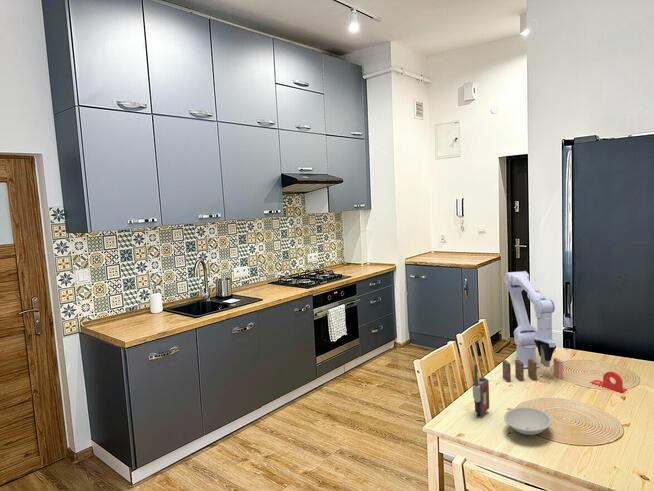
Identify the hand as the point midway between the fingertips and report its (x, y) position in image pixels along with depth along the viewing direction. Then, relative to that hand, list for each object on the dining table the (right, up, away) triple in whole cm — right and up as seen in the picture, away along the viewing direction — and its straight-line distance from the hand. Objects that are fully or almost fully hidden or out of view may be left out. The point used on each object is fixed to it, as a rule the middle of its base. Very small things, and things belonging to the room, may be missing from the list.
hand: (545, 358), depth 191 cm
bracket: (+20, -9, -12) cm, 25 cm away
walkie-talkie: (-38, -14, -28) cm, 49 cm away
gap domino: (0, -3, 0) cm, 3 cm away
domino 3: (+6, -9, +1) cm, 10 cm away
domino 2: (-5, -9, +1) cm, 10 cm away
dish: (-26, -14, -42) cm, 52 cm away
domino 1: (-10, -10, +1) cm, 14 cm away
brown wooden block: (-16, -10, +1) cm, 19 cm away
